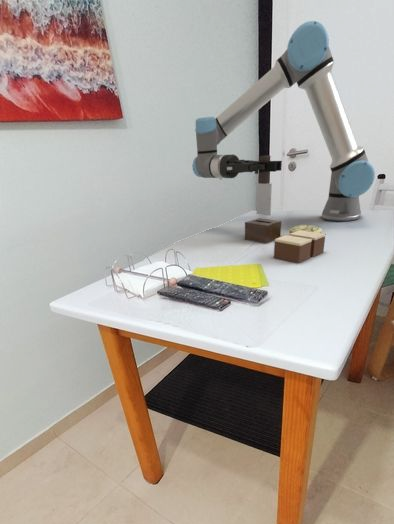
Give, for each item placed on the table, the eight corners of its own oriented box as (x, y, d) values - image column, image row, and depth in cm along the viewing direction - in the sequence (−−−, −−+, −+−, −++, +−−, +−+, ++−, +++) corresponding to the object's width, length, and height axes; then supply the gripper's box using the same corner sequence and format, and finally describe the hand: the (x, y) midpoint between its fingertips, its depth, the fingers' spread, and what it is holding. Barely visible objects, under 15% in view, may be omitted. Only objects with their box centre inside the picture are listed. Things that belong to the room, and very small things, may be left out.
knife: (258, 213, 121) (259, 155, 111) (271, 214, 117) (274, 155, 107) (255, 214, 120) (255, 156, 110) (268, 215, 116) (270, 156, 106)
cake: (298, 248, 110) (300, 230, 107) (323, 252, 104) (325, 233, 101) (288, 252, 107) (289, 233, 104) (312, 257, 101) (315, 237, 98)
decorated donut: (314, 243, 113) (316, 231, 111) (284, 240, 119) (285, 229, 117) (324, 235, 120) (326, 224, 118) (295, 233, 126) (296, 222, 124)
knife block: (259, 234, 128) (259, 218, 125) (280, 238, 122) (281, 220, 118) (244, 239, 124) (244, 222, 121) (266, 243, 117) (266, 225, 114)
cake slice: (284, 253, 106) (286, 234, 103) (309, 258, 100) (311, 239, 97) (273, 257, 103) (274, 239, 100) (298, 263, 97) (300, 243, 94)
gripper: (240, 175, 128) (291, 176, 112) (211, 180, 121) (262, 182, 105) (239, 152, 124) (293, 150, 109) (210, 156, 117) (263, 154, 101)
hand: (278, 166), depth 107 cm, fingers closed on knife, 2 cm apart
